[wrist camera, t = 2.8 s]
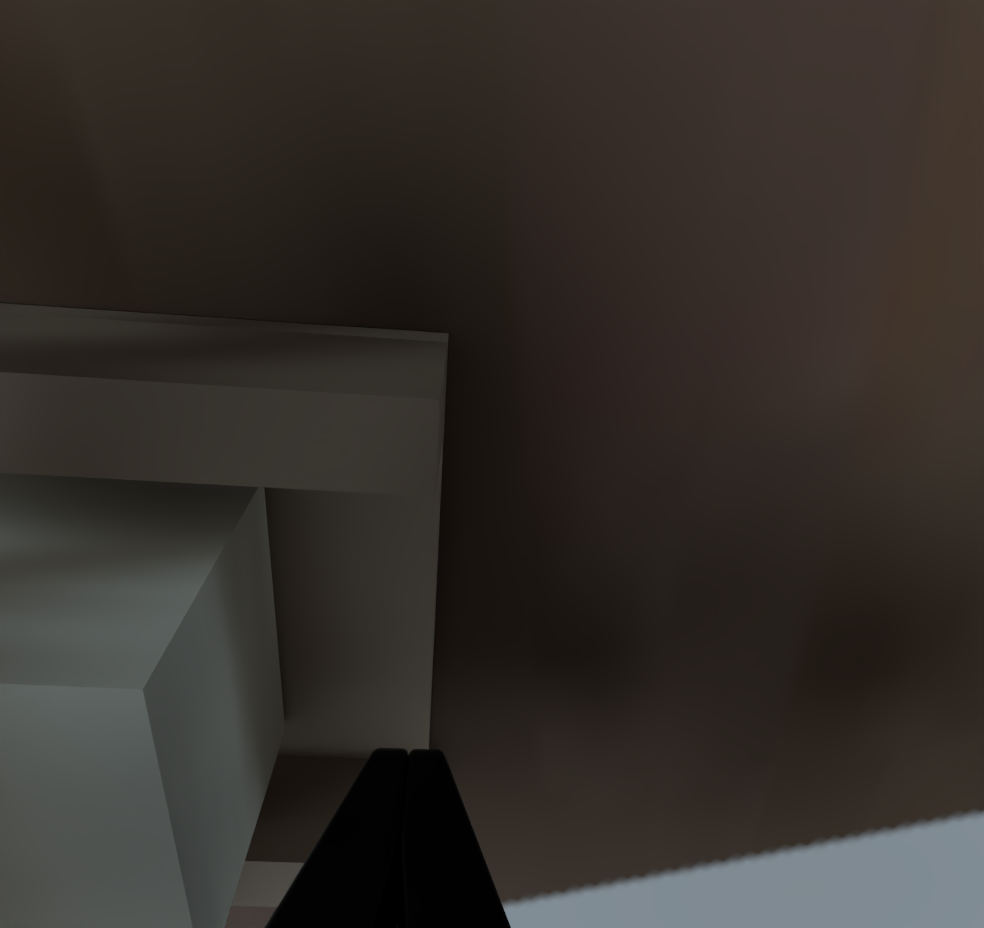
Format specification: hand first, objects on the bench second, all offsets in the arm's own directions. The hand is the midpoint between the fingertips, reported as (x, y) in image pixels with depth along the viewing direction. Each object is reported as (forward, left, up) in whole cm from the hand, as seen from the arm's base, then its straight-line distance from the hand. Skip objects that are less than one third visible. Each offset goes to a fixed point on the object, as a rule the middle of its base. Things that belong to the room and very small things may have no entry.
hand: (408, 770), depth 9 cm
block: (+5, 0, -3) cm, 6 cm away
